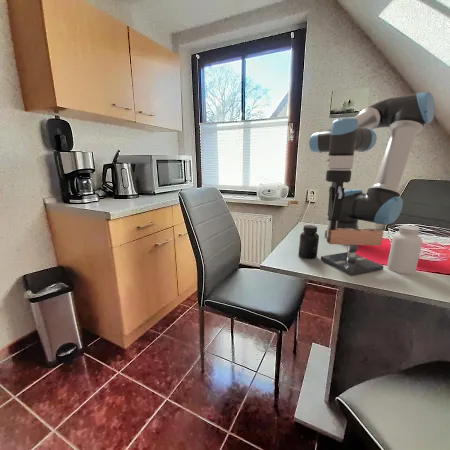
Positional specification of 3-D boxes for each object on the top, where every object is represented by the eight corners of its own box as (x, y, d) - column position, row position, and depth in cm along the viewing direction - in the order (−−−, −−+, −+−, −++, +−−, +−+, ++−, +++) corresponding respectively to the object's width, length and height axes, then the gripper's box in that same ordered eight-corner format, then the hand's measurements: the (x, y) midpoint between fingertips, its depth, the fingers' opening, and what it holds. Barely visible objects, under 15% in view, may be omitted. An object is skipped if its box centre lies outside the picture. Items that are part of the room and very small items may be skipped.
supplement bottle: (318, 260, 91) (321, 229, 88) (299, 259, 92) (301, 228, 89) (315, 253, 97) (318, 224, 94) (297, 252, 99) (300, 223, 96)
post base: (349, 255, 96) (351, 243, 95) (382, 269, 83) (385, 256, 82) (320, 260, 91) (322, 247, 90) (351, 276, 79) (353, 261, 77)
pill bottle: (403, 276, 79) (412, 231, 75) (381, 266, 86) (388, 225, 82) (421, 273, 81) (431, 229, 77) (398, 263, 88) (406, 223, 84)
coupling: (326, 248, 88) (328, 227, 86) (375, 249, 87) (378, 228, 85) (328, 251, 85) (331, 230, 83) (379, 252, 84) (383, 231, 82)
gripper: (323, 168, 88) (317, 231, 94) (330, 170, 75) (322, 242, 82) (346, 168, 86) (338, 233, 92) (357, 170, 74) (346, 244, 80)
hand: (330, 237), depth 87 cm, fingers closed
